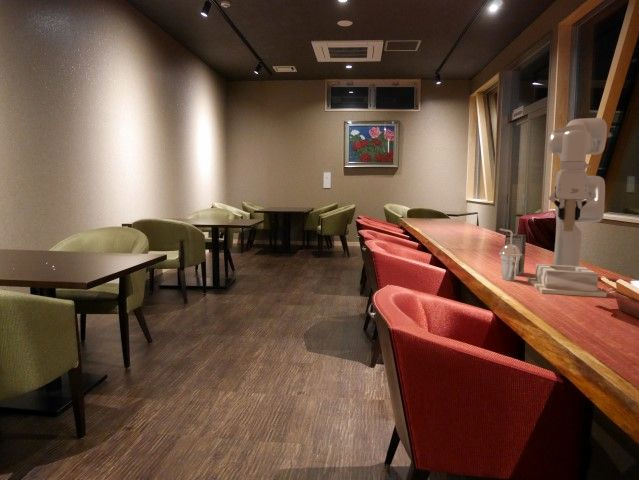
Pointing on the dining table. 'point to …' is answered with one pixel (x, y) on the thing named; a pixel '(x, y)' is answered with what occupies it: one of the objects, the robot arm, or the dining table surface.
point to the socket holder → (566, 280)
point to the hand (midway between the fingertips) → (568, 219)
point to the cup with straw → (509, 259)
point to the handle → (569, 213)
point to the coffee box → (520, 243)
